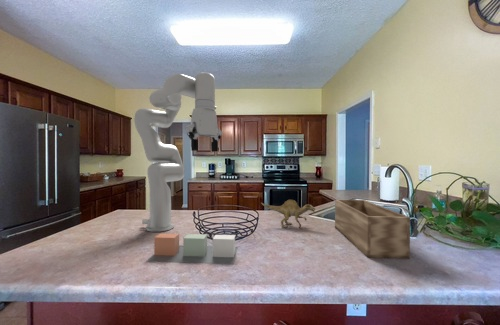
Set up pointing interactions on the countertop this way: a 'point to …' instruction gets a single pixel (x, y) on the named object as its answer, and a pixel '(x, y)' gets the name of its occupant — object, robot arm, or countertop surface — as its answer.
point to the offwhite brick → (224, 246)
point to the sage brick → (195, 245)
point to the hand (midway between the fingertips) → (205, 151)
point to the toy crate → (373, 229)
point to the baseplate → (193, 257)
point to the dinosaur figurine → (290, 211)
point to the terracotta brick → (166, 244)
